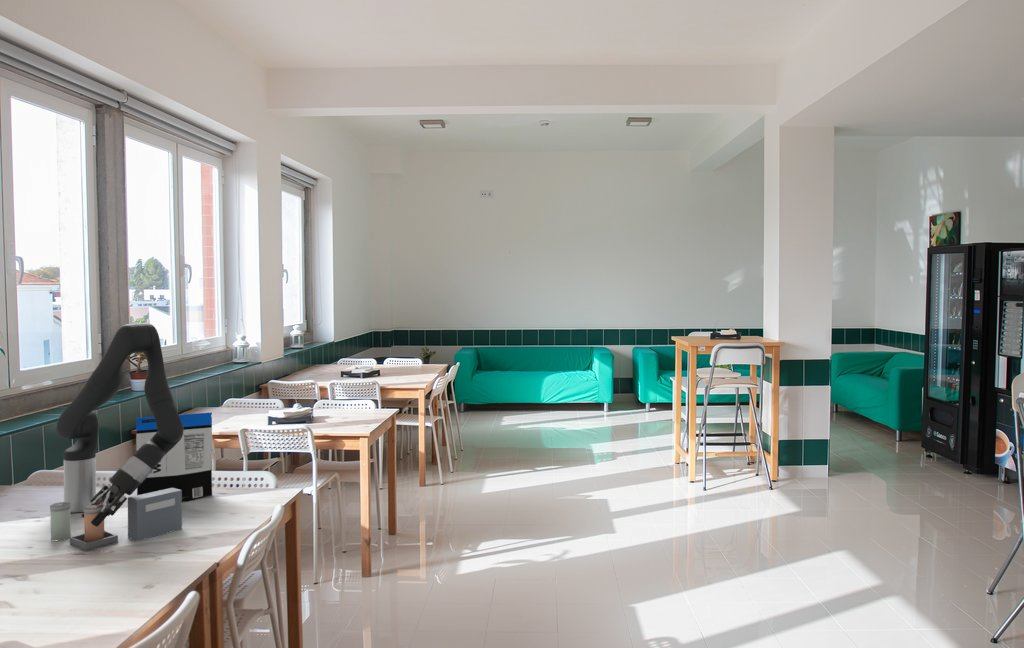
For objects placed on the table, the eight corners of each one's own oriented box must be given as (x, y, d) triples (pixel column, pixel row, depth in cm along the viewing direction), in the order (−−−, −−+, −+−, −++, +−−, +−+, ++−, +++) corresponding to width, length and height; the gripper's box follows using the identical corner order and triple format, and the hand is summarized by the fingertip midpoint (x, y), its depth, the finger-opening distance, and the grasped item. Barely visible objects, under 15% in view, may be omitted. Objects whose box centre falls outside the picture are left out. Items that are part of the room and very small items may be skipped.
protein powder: (214, 498, 260) (214, 414, 259) (138, 508, 247) (138, 419, 246) (209, 492, 268) (209, 410, 267) (135, 501, 255) (134, 415, 254)
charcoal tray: (69, 545, 210) (69, 537, 210) (101, 536, 217) (101, 529, 217) (85, 551, 205) (85, 543, 205) (118, 542, 212) (118, 535, 212)
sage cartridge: (47, 538, 215) (46, 505, 215) (65, 534, 219) (65, 501, 219) (55, 542, 212) (55, 508, 212) (74, 537, 216) (74, 503, 216)
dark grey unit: (127, 537, 217) (127, 497, 216) (171, 525, 228) (171, 487, 228) (138, 541, 214) (137, 500, 213) (182, 528, 225) (182, 490, 225)
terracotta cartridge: (80, 542, 210) (80, 507, 210) (99, 537, 215) (98, 503, 214) (89, 545, 207) (89, 510, 207) (108, 540, 212) (108, 506, 211)
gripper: (113, 463, 221) (70, 509, 213) (130, 471, 211) (86, 519, 203) (131, 478, 225) (90, 523, 217) (149, 486, 215) (107, 534, 207)
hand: (88, 521), depth 210 cm, fingers open, 8 cm apart
